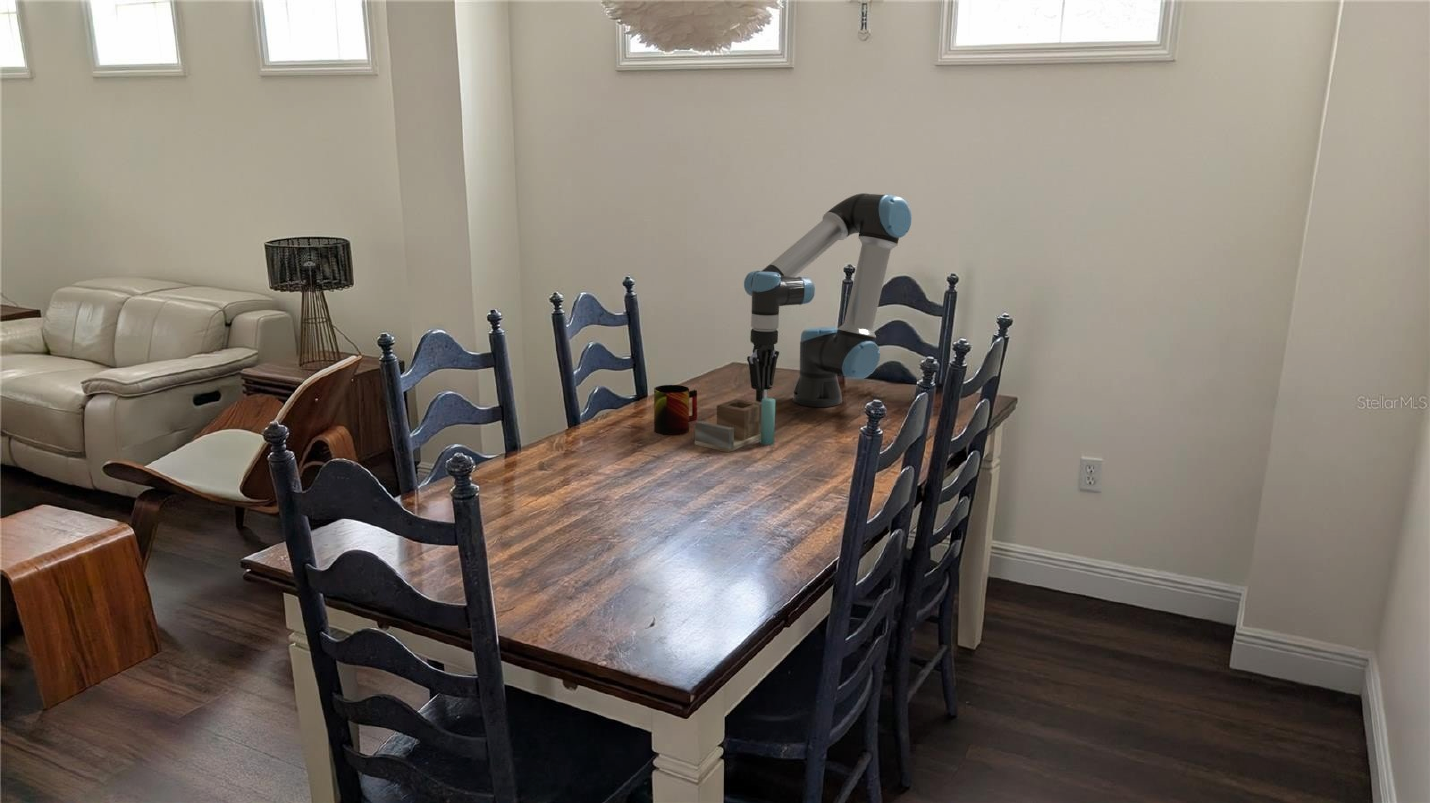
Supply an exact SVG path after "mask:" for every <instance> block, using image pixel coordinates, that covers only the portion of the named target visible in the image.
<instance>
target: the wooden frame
mask: <svg viewBox="0 0 1430 803" xmlns="http://www.w3.org/2000/svg"><path fill="white" fill-rule="evenodd" d="M694 424H695V425H694V428H695V429H694V430H695V431H694V435H695V436H694V445H696V446H701V447H705V448H709V449H713V450H718V451H721V452H722V451H723V452H727V453H731V452H733V451H736V450H738V449H740V448H742V447H744V446H747V445H749V444H750V445H751V444H752V443H754V442H757V441H759V440H761V433H760V434H758V435H756V436H753V437H751V438H748V439H746V440H741V439H736V438H734V428H731V427H726V426H721V425H717V423H711V422H707V421H702V420H698V421H694Z"/></svg>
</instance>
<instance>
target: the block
mask: <svg viewBox="0 0 1430 803" xmlns="http://www.w3.org/2000/svg"><path fill="white" fill-rule="evenodd" d="M761 407H762V404H759V403H756V402H754V401H747V400H742V399H737V398H736V399H733V400H729V401H727V402H724V403H721V404H718V405H716V424H717V425H721V426H726V427H731V428H734V438H736V439H741V440H746V439H748V438H751V437H753V436H756V435H758V434H760V433H761Z"/></svg>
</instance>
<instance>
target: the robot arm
mask: <svg viewBox="0 0 1430 803" xmlns="http://www.w3.org/2000/svg"><path fill="white" fill-rule="evenodd" d="M911 225H912V211H911V209H910V207H909V204H908V203H907V201H906V200H905V199H904V198H902V197H900V196H897V195H890V194H878V193H877V194H876V193H866V192H865V193H857V194H854V195H851V196H849V197H847V198H845V199H844V200H842V201H840V202H839V203H837V204H836V205H834V206H833V207H831V209H829V210H828V211H826V212H825V214H823V216H822V220H821V221H820V222H819V223H817V224H816V225H814V227H813V228H812V229H810V230H809V231H808V232H807V233H805V234H804V235H803V236H802V237H801V238H799V239H798V240H797V241H796V242H794V244H792V245H791V246H790V247H788V248H787V249H786V250H785V251H783V253H781V254H780V255H779V256H778V257H776V258H775V260H773V261H772V262H771V263H769V264H768V265H767V266H766V267H765V268H763V269H762V270H753V271H750V272H748V273H747V275H746V276H745V278H744V280H743V288H744V291H745V293H746V294H747V295H749V297H751V321H750V328H751V329H750V336H749V337H750V340H749V341H750V343H751V344H753V348H752V354H751V356H748V355H747V358H746V361H747V363H748V369H749V376H750V388H751V389H753V390H755V403H759V404H762V399H764V398H769V397H768V395H769V394H768V392H769V390H772V386H773V384H774V380H775V373H776V370H777V369H776V367H777V364H778V363H777V362H778V359H779V356H780V351H778V350H775V345H776V344H778V342H779V338H778V337H779V330H777V329H779V322H780V321H779V320H780V319H779V316H780V307H783V306H785V307H786V306H795V305H796V306H797V305H799V306H802V305H805V304H809V303H811V301H813V300H814V297H815V292H816V291H815V290H816V288H815V284H814V282H813V280H812V279H811V278H809V277H808V276H807V277H806V276H798V275H799V274H800V273H801V272H802V271H803V270H805V269H806V268H808V266H809V265H811V264H812V263H813V262H814V261H815V260H817V258H819V257H820V256H822V254H824V253H825V252H826V251H827V250H829V249H830V248H831V247H832V246H833V245H835V243H837V242H838V241H844V240H845V239H847V238H848V237H849V236H851V235H853V234H858V236H857V237H858V239H859V241H860V242H861V247H860V252H859V255H858V256H859V257H858V262H857V266H856V269H855V273H854V277H853V278H854V279H853V283H852V287H851V291H850V296H849V300H848V304H847V309H846V313H845V319H844V321H843V324H842V325H840V326H838V327H833V326H829V327H826V326H824V327H822V326H821V327H813V328H806V329H804V330H802V331H801V334H800V341H799V373H798V374H799V376H798V378H797V382H796V385H795V386H794V390H793V393H792V401H793V403H795V404H797V405H801V406H804V407H805V406H806V407H810V408H811V407H815V408H828V407H834V406H839V405H840V404H842V401H843V400H842V399H843V398H842V397H843V396H842V395H843V394H842V391H841V387H840V384H839V380H838V375H839V376H842V377H846V378H848V379H855V380H863V379H865V378H868V377H869V376H870V375H871V374H873V373H874V372H875V370H876V369H877V367H878V365H879V362H880V360H881V352H880V347H879V346H878V345H877V344H876V340H877V336H876V334H875V332H874V330H873V328H874V326H875V325H874V324H875V321H876V315H877V313H878V312H877V311H878V308H879V304H880V303H879V302H880V299H881V296H882V292H883V291H882V290H883V285H884V281H885V278H886V273H887V268H888V264H889V261H890V256H891V255H890V254H891V251H892V250H893V249H894V248H896V247H897V246H898V243H899V240H900V239H901V238H903V237H905V236H906V235H907V233H908V232H909V231H910V229H911Z"/></svg>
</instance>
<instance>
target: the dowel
mask: <svg viewBox="0 0 1430 803" xmlns="http://www.w3.org/2000/svg"><path fill="white" fill-rule="evenodd" d="M775 417H776V399H775V398H770V397H768V398H764V399H762V407H761V439H760V445H763V446H772V445H773V446H774V444H775V421H776V418H775Z"/></svg>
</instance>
